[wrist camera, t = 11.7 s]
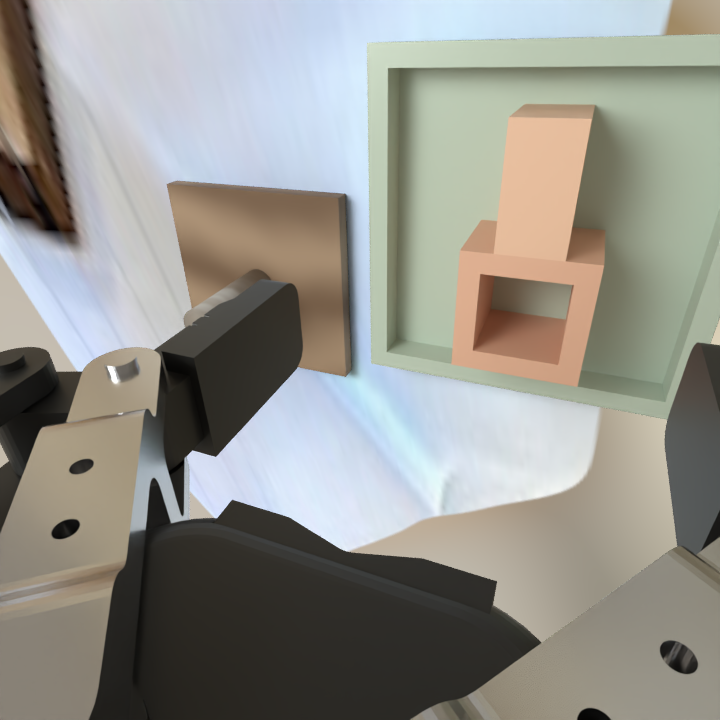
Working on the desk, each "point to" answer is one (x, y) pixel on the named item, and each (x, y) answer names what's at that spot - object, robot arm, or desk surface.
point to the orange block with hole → (532, 252)
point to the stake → (269, 256)
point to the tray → (593, 211)
